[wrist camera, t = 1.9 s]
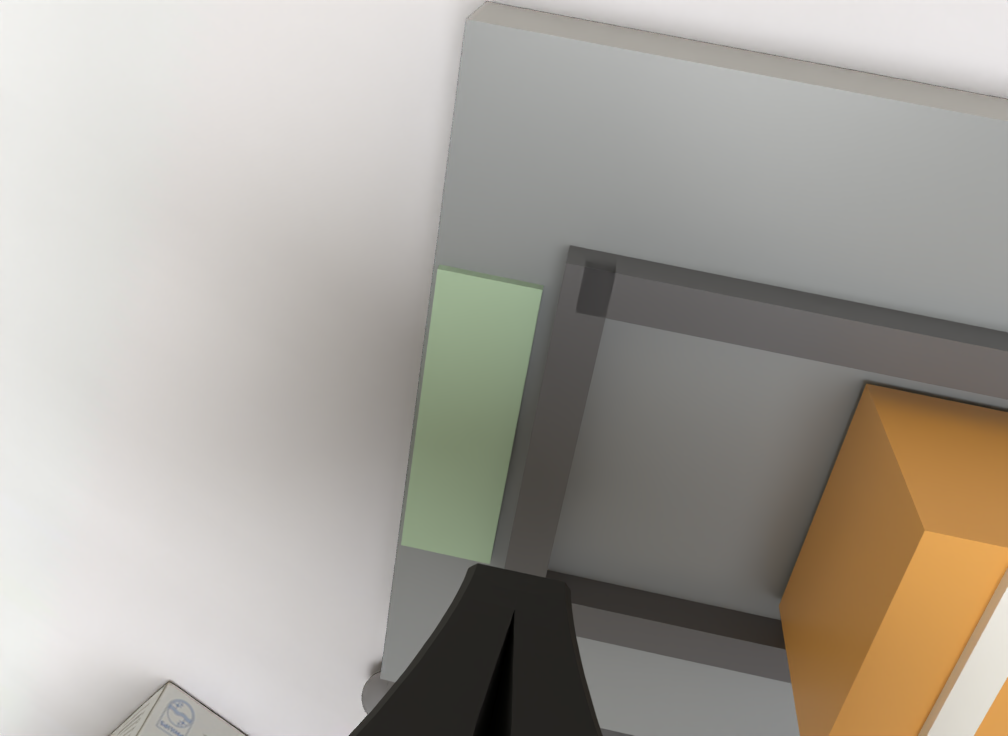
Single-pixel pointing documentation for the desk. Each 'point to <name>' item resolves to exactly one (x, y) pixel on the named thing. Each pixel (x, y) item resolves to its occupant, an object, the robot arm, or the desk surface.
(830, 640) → the lever
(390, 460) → the desk surface
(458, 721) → the robot arm
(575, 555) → the breaker panel
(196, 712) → the light bulb box
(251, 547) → the desk surface
